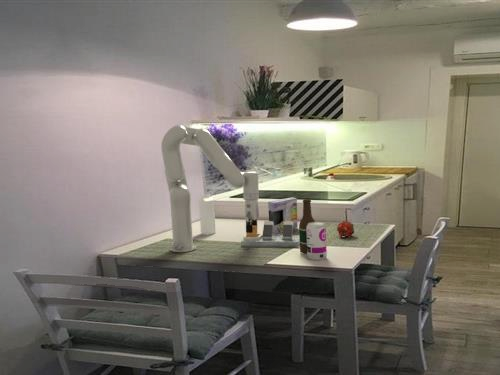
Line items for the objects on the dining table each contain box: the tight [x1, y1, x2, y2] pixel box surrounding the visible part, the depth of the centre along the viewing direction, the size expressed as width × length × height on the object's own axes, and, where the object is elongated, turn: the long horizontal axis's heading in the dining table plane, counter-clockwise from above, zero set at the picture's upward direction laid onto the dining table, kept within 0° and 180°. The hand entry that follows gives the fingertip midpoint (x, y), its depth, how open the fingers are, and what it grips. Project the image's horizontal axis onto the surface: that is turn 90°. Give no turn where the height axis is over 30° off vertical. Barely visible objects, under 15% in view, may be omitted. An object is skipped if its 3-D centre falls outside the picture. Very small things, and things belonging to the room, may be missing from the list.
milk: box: [198, 193, 216, 236], centre depth 261 cm, size 6×6×22 cm
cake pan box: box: [267, 197, 299, 235], centre depth 259 cm, size 19×5×18 cm, turn 129°
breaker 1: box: [262, 220, 274, 239], centre depth 232 cm, size 2×5×9 cm
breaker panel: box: [240, 233, 300, 248], centre depth 231 cm, size 14×28×4 cm, turn 76°
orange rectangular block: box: [245, 225, 258, 237], centre depth 234 cm, size 4×4×6 cm
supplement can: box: [306, 221, 328, 261], centre depth 200 cm, size 8×8×15 cm
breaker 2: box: [282, 221, 294, 239], centre depth 229 cm, size 2×5×9 cm
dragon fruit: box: [336, 220, 355, 237], centre depth 239 cm, size 8×8×12 cm
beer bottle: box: [298, 198, 316, 255], centre depth 211 cm, size 8×8×24 cm
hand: (251, 230), depth 233 cm, fingers open, 9 cm apart
